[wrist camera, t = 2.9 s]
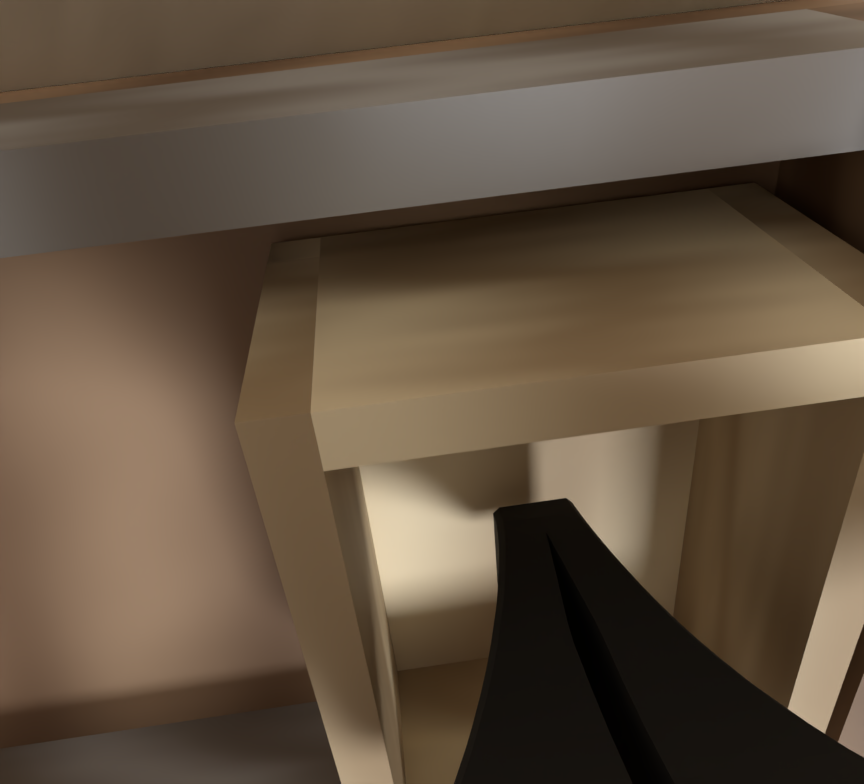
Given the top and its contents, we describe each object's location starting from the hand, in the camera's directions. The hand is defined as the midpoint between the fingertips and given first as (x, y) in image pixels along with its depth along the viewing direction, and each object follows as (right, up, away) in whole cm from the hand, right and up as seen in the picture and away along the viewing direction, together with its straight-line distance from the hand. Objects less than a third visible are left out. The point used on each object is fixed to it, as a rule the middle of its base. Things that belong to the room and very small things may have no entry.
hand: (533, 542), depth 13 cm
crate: (0, +1, +2) cm, 2 cm away
